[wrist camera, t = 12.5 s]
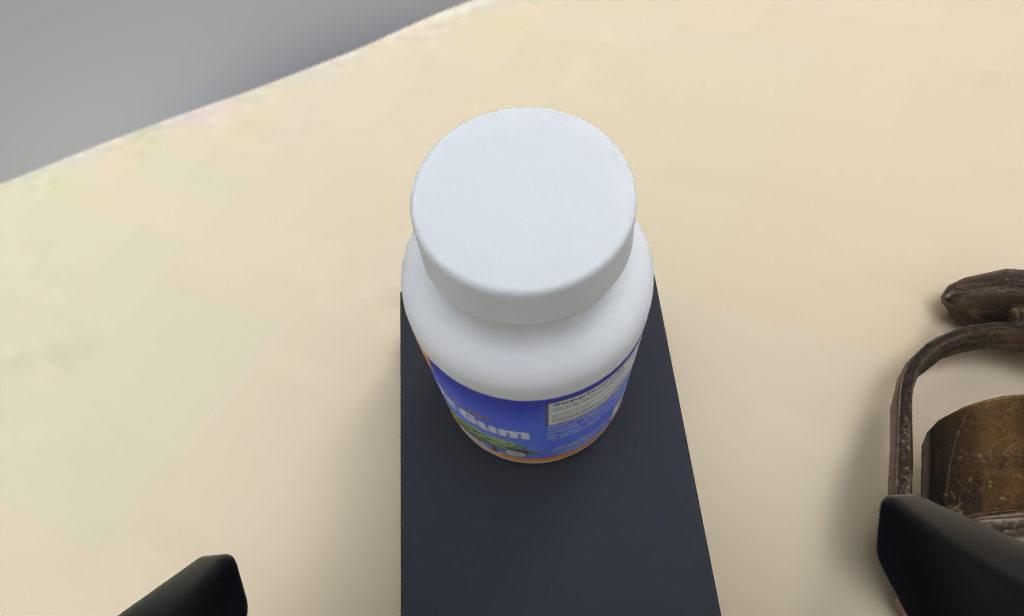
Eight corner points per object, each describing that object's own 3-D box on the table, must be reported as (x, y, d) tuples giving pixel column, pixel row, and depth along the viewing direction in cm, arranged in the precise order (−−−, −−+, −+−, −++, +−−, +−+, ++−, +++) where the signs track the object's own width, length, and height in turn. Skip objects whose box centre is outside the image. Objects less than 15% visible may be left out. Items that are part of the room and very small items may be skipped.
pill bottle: (412, 373, 20) (302, 186, 12) (541, 270, 22) (529, 31, 13) (527, 509, 18) (499, 406, 10) (661, 385, 20) (744, 197, 11)
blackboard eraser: (761, 918, 17) (809, 987, 14) (419, 943, 17) (386, 1017, 14) (646, 301, 25) (660, 254, 22) (412, 324, 25) (391, 280, 22)
